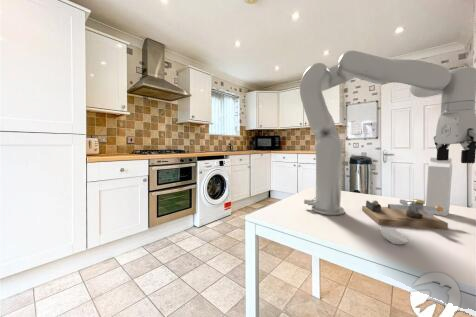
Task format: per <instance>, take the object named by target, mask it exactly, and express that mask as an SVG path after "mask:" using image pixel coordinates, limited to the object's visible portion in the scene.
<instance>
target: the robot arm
mask: <svg viewBox="0 0 476 317" xmlns="http://www.w3.org/2000/svg"><path fill="white" fill-rule="evenodd" d="M353 79H358V80H363V81H365V82H368V83H371V84H377V85H381V84H382V85H383V84H389V83H394V84H404V85H407V86H410V88H409V90H410V93H411V95H413V96H414V97H417V98H428V97H429V98H430V97H433V96H439V95H441V103H440V104H441V105H440V115H439V117H438V120H437V124H436V130H435V136H434V137H433V140H434V145H435V150H436V158H437V160H439V161H447V160H448V158H450V157H449V155H450V154H449V152H450V150H449V147H450V145H456V144H458V145H459V144H460V146H461V147H462V150H461V152H460V153H461V154H460V156H461V158H460V163H461V164H475V163H476V67H474V66H465V67H457V68H454V69H451V70H449V69H448V68H447V67H444V66H443V65H439V64H436V63H432V62H428V61H424V60H418V59H402V58H401V59H400V58H399V59H398V58H393V59H392V58H391V59H390V58H386V57H381V56H377V55H373V54H371V53H370V54H369V53H366V52H362V51H357V50H348V51H345V52H343V53H342V55H341V56H340V57H339V58H338V62H337V64H336V65H334V66H331V67H329V66H327V65H326V64H325V63H323V62H316V63H313V64H312V65H310V66H309V67H308V68H307V69H306V70H305V72H304V73H303V75H302V76H301V80H300V83H299V95H300V99H301V100H300V101H301V102H302V103H301V104H302V106H303V109H304V113H305V116H306V119H307V121H308V126H309V128H310V130H311V131H312V132H313V136H314V137H315V141H316V145H315V197H314V198H312V199H304V200H303V204H304V205H307V206H311V210H312V211H313V212H315V213H317V214H321V215H327V216H340V215H343V214H345V209H344V207H342V206H341V196H342V195H341V192H342V190H341V188H342V185H341V184H342V159H343V158H342V155H343V143H342V141H341V138H340V135H339V132H338V130H337V127H336V124H335V121H334V118H333V116H332V115H331V114H332V113H330V111H329V108H328V106H327V103H326V101H325V98H324V95H323V91H326V90H330V89H332V88H335V87H338V86H340V85H342V84H345V83H346V82H349V81H351V80H353Z"/></svg>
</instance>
